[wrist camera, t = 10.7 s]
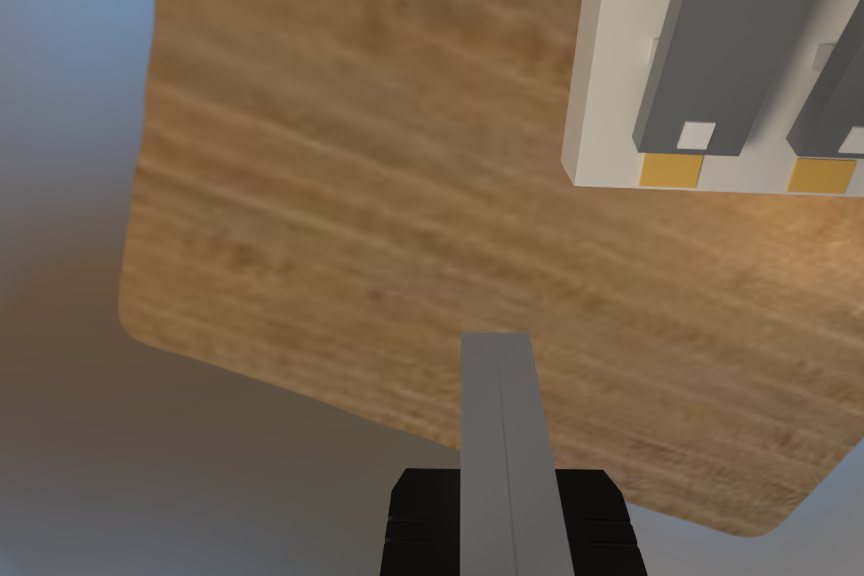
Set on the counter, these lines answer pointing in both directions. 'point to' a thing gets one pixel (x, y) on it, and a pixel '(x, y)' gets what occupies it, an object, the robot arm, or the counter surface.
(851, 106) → the block
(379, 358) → the counter surface
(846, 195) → the switch unit
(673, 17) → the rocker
